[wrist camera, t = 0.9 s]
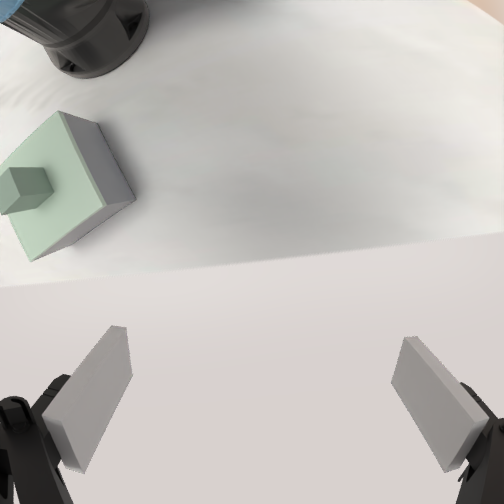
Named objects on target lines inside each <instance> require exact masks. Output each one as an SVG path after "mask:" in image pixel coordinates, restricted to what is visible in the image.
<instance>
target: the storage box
mask: <svg viewBox="0 0 504 504" xmlns="http://www.w3.org/2000/svg"><path fill="white" fill-rule="evenodd" d="M63 115H64V117H65V119H66V122H67V124H68V126H69V128H70V131H71V133H72V135H73V137H74V139H75V142H76V144H77V146H78V148H79V150H80V152H81V154H82V156H83V159H84V161H85V163H86V165H87V167H88V169H89V171H90V173H91V175H92V177H93V179H94V181H95V183H96V185H97V187H98V189H99V191H100V193H101V195H102V196H103V198H104V200H105V202H106V204H107V206H105V207H104V208H102V209H101V210H99V211H98V212H97V213H95V214H94V215H93V216H91V217H90V218H88V219H87V220H86V221H84V222H83V223H82V224H80V225H79V226H78V227H76V228H75V229H74V230H72V231H71V232H70V233H68V234H67V235H66V236H64V237H63V238H62V239H61V240H59V241H58V242H57V243H56V244H54V245H53V246H52V247H51V248H49V249H48V250H47V251H46V252H44V253H43V254H42V255H41V256H39V257H38V258H37V259H39V258H41V257H44V256H46V255H48V254H51V253H53V252H56V251H58V250H60V249H63V248H65V247H68V246H70V245H72V244H73V243H75V242H76V241H77V240H79V239H80V238H81V237H83V236H84V235H86V234H87V233H88V232H90V231H91V230H93V229H94V228H95V227H97V226H98V225H100V224H101V223H102V222H104V221H105V220H107V219H108V218H110V217H111V216H113V215H114V214H115V213H117V212H118V211H120V210H121V209H123V208H124V207H126V206H127V205H129V204H130V203H132V202H133V201H135V200H136V198H135V196H134V194H133V193H132V191H131V189H130V187H129V185H128V183H127V181H126V179H125V178H124V176H123V174H122V172H121V170H120V168H119V166H118V164H117V162H116V160H115V158H114V156H113V154H112V152H111V150H110V148H109V147H108V145H107V143H106V141H105V139H104V136H103V134H102V132H101V130H100V128H99V126H98V124H97V123H95V122H92V121H89V120H86V119H83V118H80V117H77V116H73V115H70V114H67V113H64V112H63ZM37 259H36V260H37Z"/></svg>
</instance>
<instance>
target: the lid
mask: <svg viewBox="0 0 504 504" xmlns="http://www.w3.org/2000/svg"><path fill="white" fill-rule="evenodd" d="M105 206H107V204H106V202H105V200H104V198H103V196H102V195H101V193H100V191H99V189H98V187H97V185H96V183H95V181H94V179H93V177H92V175H91V173H90V171H89V169H88V167H87V165H86V163H85V161H84V159H83V156H82V154H81V152H80V150H79V148H78V146H77V144H76V142H75V139H74V137H73V135H72V133H71V131H70V128H69V126H68V124H67V122H66V119H65V117H64V115H63V112H61V111H57V112H55V113H54V114H53V115H52V116H51V117H50V118H48V119H47V120H46V121H45V122H44V123H43V124H42V125H41V126H40V127H38V128H37V129H36V130H35V131H34V132H33V133H32V134H31V135H30V136H29V137H28V138H27V139H26V140H25V141H24V142H23V143H22V144H21V145H20V146H19V147H18V148H17V149H16V150H15V151H14V152H13V153H12V154H11V155H10V156H9V157H8V158H7V159H6V160H5V161H4V162H3V163H2V164H1V166H0V213H1V215H6V214H8V217H9V219H10V221H11V224H12V226H13V228H14V230H15V232H16V235H17V237H18V239H19V241H20V243H21V245H22V247H23V249H24V251H25V253H26V255H27V257H28V259H29V261H30V262H32V261H34V260H36V259H37V258H38V257H39V256H41V255H42V254H43V253H44V252H46V251H47V250H48V249H49V248H51V247H52V246H53V245H54V244H56V243H57V242H58V241H59V240H61V239H62V238H63V237H64V236H66V235H67V234H68V233H70V232H71V231H72V230H74V229H75V228H76V227H78V226H79V225H80V224H82V223H83V222H84V221H86V220H87V219H88V218H90V217H91V216H93V215H94V214H95V213H97V212H98V211H99V210H101V209H102V208H104V207H105Z"/></svg>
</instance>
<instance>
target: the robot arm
mask: <svg viewBox="0 0 504 504" xmlns="http://www.w3.org/2000/svg"><path fill="white" fill-rule="evenodd" d="M0 23H1V24H3V25H5V26H7V27H9V28H11V29H13V30H15V31H17V32H19V33H21V34H23V35H25V36H26V37H28V38H30V39H32V40H34V41H36V42H38V43H40V44H41V45H43V47H44V49H45V50H46V52H47V54H48V56H49V57H50V59H51V61H52V63H53V64H54V65H55V66H56V67H57V68H58V69H59V70H60V71H62V72H64V73H66V74H68V75H70V76H72V77H75V78H92V77H96V76H100V75H102V74H105V73H107V72H109V71H111V70H113V69H114V68H116V67H117V66H119V65H120V64H121V63H123V62H124V61H125V60H126V59H127V58H128V57H129V56H130V55H131V54H132V53H133V52H134V51H135V50H136V48H137V47H138V46H139V44H140V43H141V41H142V39H143V37H144V35H145V33H146V31H147V27H148V23H149V11H148V7H147V5H146V3H145V1H144V0H0ZM132 376H133V374H132V368H131V362H130V353H129V346H128V338H127V329H126V327H119V326H111V327H110V328H109V329H108V330H107V332H106V333H105V334H104V335H103V337H102V338H101V339H100V340H99V341H98V343H97V344H96V345H95V346H94V348H93V349H92V350H91V352H90V353H89V354H88V355H87V356H86V358H85V359H84V361H83V362H82V363H81V364H80V365H79V367H78V368H77V369H76V371H75V372H74V373H73V374H72V376H70V375H66V374H63V375H61V376H59V377H58V378H56V379H54V380H53V382H52V383H51V384H50V385H49V386H48V389H46V390H45V391H44V393H43V395H41V396H40V398H39V399H38V400H37V401H36V403H35V404H34V405H33V406H32V407H31V408H30V406H29V404H28V402H27V400H25V399H24V398H22V397H17V396H10V397H7V398H4V399H3V400H1V401H0V504H14V502H13V494H14V491H13V490H14V484H15V488H16V491H17V495H18V499H19V502H20V504H73V501H72V499H71V497H70V495H69V492H68V490H67V488H66V485H65V483H64V480H63V478H62V475H61V473H60V471H59V468H58V467H57V466H58V464H59V462H60V460H61V459H62V461H63V463H64V465H65V467H66V468H67V469H69V470H73V471H75V472H79V473H82V474H85V471H86V469H87V467H88V465H89V463H90V461H91V458H92V457H93V454H94V452H95V450H96V448H97V446H98V444H99V442H100V440H101V438H102V436H103V434H104V432H105V430H106V428H107V425H108V424H109V421H110V419H111V418H112V416H113V413H114V412H115V409H116V408H117V406H118V404H119V402H120V400H121V398H122V396H123V394H124V392H125V390H126V387H127V386H128V384H129V382H130V380H131V378H132ZM391 384H392V385H393V387H394V389H395V390H396V392H397V393H398V395H399V397H400V398H401V400H402V402H403V403H404V405H405V406H406V408H407V410H408V411H409V413H410V414H411V416H412V418H413V420H414V421H415V423H416V425H417V426H418V428H419V430H420V431H421V433H422V435H423V436H424V438H425V440H426V441H427V443H428V445H429V447H430V448H431V450H432V452H433V454H434V455H435V457H436V459H437V461H438V462H439V464H440V466H441V468H442V469H443V471H444V473H446V472H449V471H452V470H455V469H458V468H460V466H461V465H462V463H463V461H464V460H465V458H466V459H467V460H468V462H469V465H468V466H467V467H466V469H465V470H464V472H463V473H462V475H461V476H460V477H459V479H458V482H460V481H461V479H462V478H463V481H462V485H461V488H460V491H459V495H458V498H457V501H456V504H504V418H501V419H498V418H497V417H496V416H495V415H494V414H493V412H492V411H491V410H490V409H489V408H488V407H487V405H486V404H485V403H484V402H483V401H482V400H481V399H480V397H479V396H477V394H476V393H475V392H474V391H473V390H472V388H470V387H469V386H467V385H466V384H464V383H462V382H461V383H459V382H458V381H457V380H456V378H455V377H454V376H453V375H452V374H451V373H450V372H449V371H448V370H447V368H446V367H445V366H444V365H443V364H442V363H441V362H440V361H439V360H438V358H437V357H436V356H435V355H434V354H433V353H432V352H431V351H430V350H429V349H428V348H427V347H426V345H424V343H423V342H422V341H421V340H420V339H419V338H418V337H417V336H415V337H404V340H403V344H402V347H401V351H400V355H399V358H398V361H397V365H396V368H395V371H394V375H393V378H392V381H391Z"/></svg>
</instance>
